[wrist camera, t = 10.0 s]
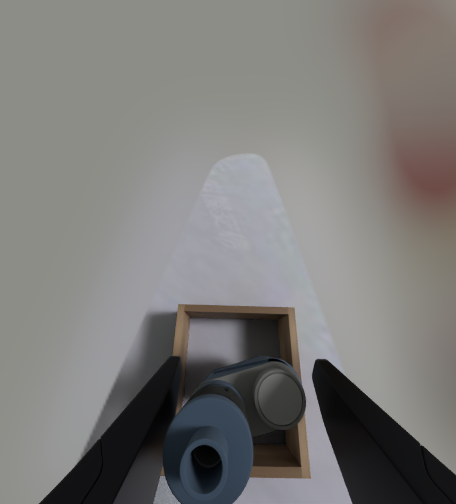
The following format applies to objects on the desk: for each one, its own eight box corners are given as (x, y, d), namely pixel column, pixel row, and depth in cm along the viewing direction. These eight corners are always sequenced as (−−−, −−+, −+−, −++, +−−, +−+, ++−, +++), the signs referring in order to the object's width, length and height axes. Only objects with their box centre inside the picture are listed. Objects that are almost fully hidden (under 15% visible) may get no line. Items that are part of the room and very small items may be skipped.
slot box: (293, 453, 16) (310, 478, 13) (171, 450, 16) (158, 475, 13) (282, 314, 20) (294, 307, 17) (185, 311, 20) (178, 304, 17)
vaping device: (202, 371, 16) (140, 415, 5) (270, 351, 17) (345, 355, 6) (209, 412, 15) (152, 575, 4) (282, 390, 16) (401, 485, 5)
